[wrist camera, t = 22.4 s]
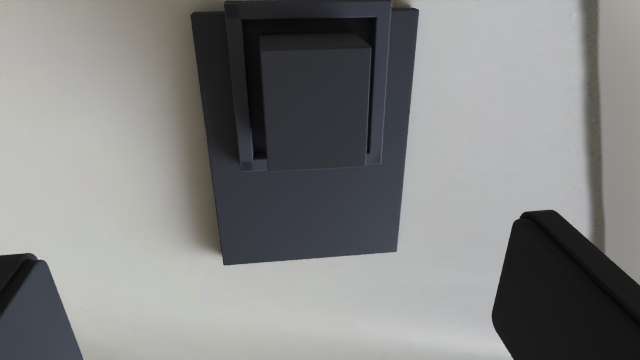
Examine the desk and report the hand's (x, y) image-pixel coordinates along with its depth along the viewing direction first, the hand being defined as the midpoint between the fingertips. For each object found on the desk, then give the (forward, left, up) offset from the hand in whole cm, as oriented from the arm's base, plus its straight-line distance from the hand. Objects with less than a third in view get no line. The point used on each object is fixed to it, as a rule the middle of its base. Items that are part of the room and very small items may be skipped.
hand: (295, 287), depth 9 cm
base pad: (+5, +2, -18) cm, 19 cm away
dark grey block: (+1, +2, -17) cm, 17 cm away
